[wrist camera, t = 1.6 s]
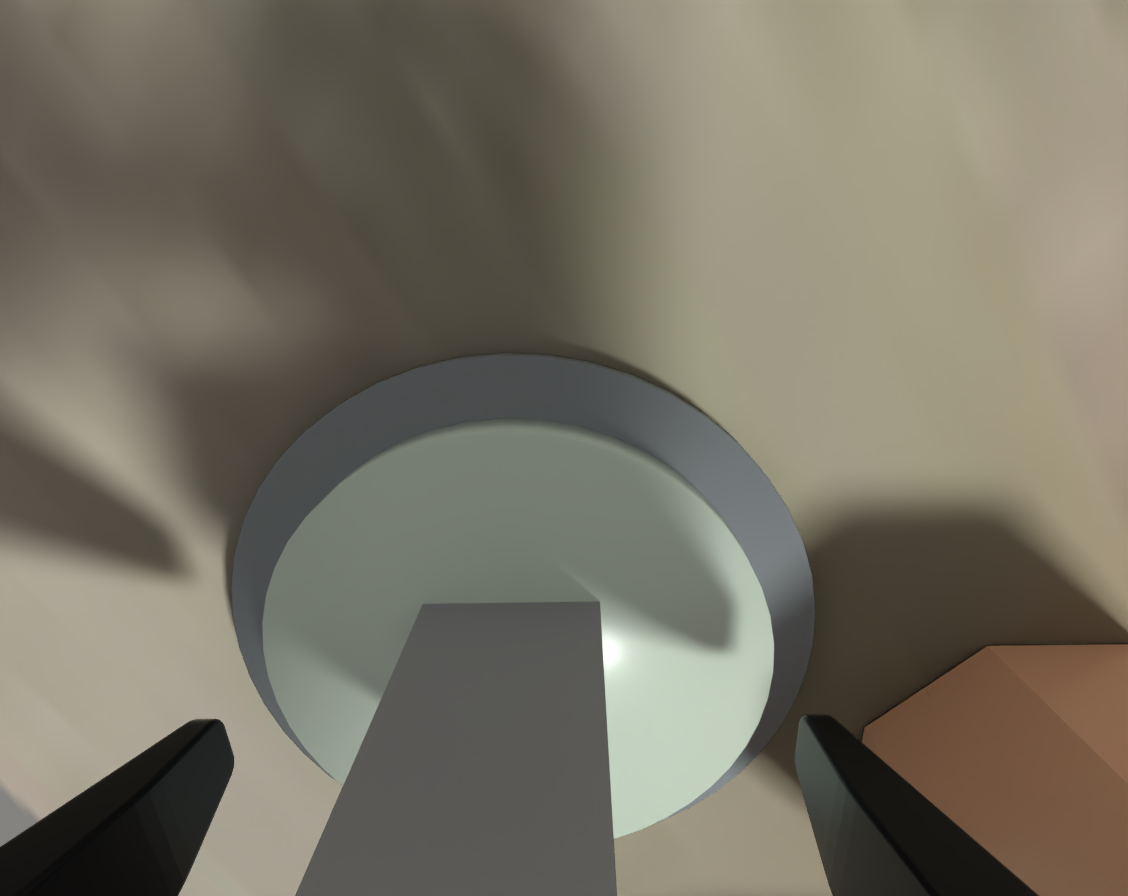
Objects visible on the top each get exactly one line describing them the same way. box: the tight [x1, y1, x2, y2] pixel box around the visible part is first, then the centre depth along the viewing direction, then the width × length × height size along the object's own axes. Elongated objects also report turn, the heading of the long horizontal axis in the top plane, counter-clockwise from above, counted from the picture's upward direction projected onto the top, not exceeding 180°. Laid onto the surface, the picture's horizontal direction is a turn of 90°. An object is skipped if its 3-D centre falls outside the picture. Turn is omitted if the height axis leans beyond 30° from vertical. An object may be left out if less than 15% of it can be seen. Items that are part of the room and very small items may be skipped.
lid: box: [262, 418, 774, 896], centre depth 8 cm, size 9×9×6 cm
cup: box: [862, 644, 1128, 896], centre depth 10 cm, size 7×7×4 cm
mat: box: [231, 353, 815, 823], centre depth 11 cm, size 11×11×1 cm
